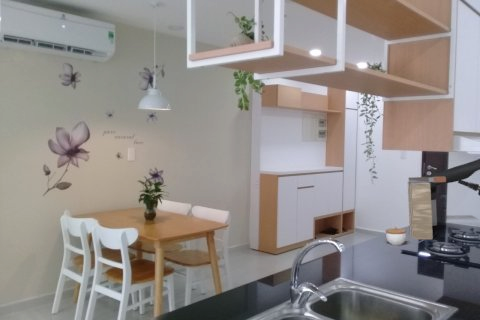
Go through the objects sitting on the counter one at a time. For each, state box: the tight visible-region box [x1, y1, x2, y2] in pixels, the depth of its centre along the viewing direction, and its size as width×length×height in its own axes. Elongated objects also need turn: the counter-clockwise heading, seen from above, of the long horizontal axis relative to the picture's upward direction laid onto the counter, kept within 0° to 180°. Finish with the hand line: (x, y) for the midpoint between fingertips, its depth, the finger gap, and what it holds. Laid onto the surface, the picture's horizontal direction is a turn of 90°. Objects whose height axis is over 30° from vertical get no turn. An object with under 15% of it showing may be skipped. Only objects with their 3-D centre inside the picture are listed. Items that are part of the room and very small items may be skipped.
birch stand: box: [407, 176, 434, 240], centre depth 250 cm, size 15×10×35 cm, turn 166°
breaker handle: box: [429, 177, 446, 182], centre depth 248 cm, size 4×18×3 cm, turn 76°
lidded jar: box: [385, 226, 407, 246], centre depth 234 cm, size 11×11×9 cm
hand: (459, 181), depth 244 cm, fingers open, 8 cm apart
